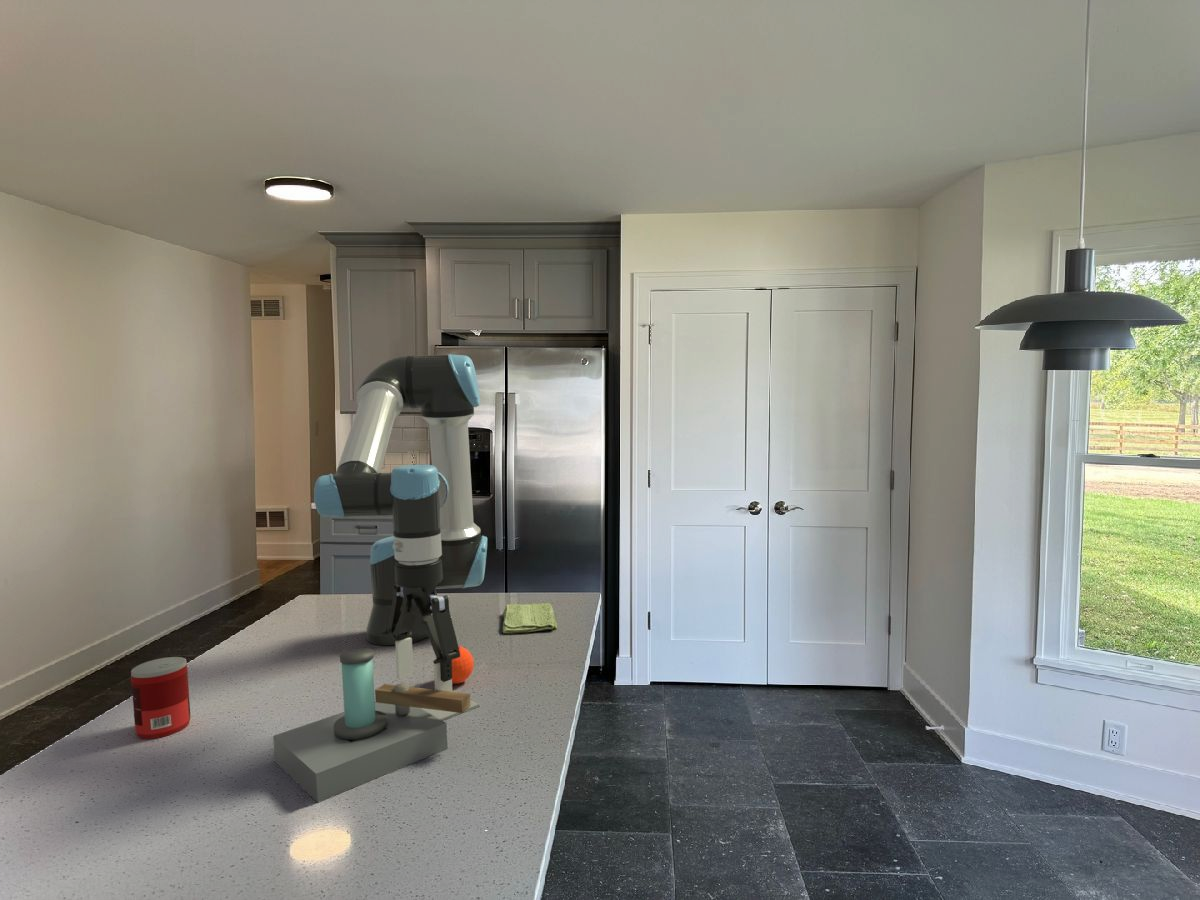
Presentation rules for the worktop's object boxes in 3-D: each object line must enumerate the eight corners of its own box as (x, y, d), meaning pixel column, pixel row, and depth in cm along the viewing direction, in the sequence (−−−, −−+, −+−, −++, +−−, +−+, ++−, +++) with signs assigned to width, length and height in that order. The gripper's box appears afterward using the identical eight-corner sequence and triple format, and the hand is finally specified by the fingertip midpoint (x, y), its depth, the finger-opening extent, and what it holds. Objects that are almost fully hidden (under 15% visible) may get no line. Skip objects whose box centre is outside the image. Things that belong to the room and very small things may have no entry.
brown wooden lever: (385, 706, 113) (384, 680, 112) (470, 716, 108) (469, 689, 107) (376, 712, 110) (374, 686, 110) (462, 724, 105) (461, 696, 105)
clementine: (425, 685, 132) (423, 648, 131) (449, 672, 138) (447, 637, 137) (458, 692, 128) (456, 654, 127) (481, 678, 134) (480, 642, 134)
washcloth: (501, 637, 159) (501, 624, 159) (503, 615, 177) (502, 602, 177) (558, 633, 161) (558, 620, 161) (554, 611, 178) (554, 599, 178)
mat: (399, 708, 122) (399, 706, 122) (448, 690, 129) (448, 688, 129) (428, 725, 115) (428, 723, 114) (479, 706, 121) (479, 704, 121)
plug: (327, 755, 106) (321, 654, 105) (374, 738, 111) (369, 641, 110) (348, 773, 100) (342, 666, 99) (397, 754, 105) (392, 652, 104)
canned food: (201, 721, 119) (197, 658, 119) (158, 742, 112) (153, 676, 111) (168, 716, 122) (164, 654, 121) (124, 736, 114) (119, 671, 114)
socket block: (274, 761, 104) (273, 735, 104) (397, 717, 118) (395, 694, 118) (317, 802, 93) (316, 773, 93) (447, 748, 107) (446, 723, 106)
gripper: (363, 552, 120) (369, 673, 121) (436, 577, 102) (442, 718, 104) (403, 545, 125) (408, 661, 127) (479, 567, 107) (484, 702, 109)
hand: (424, 687), depth 115 cm, fingers open, 12 cm apart
